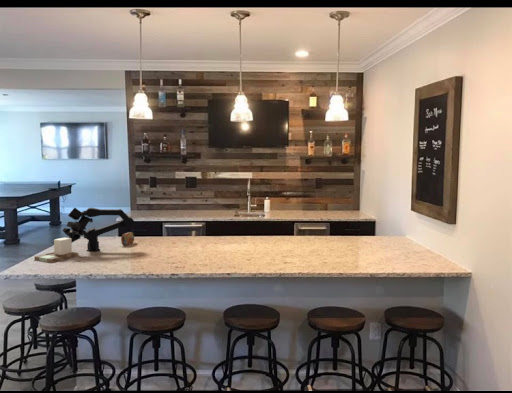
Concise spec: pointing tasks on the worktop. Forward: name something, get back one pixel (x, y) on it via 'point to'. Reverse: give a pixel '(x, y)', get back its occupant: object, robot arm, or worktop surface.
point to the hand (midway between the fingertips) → (68, 243)
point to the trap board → (57, 256)
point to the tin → (127, 238)
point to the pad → (45, 258)
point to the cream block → (62, 246)
